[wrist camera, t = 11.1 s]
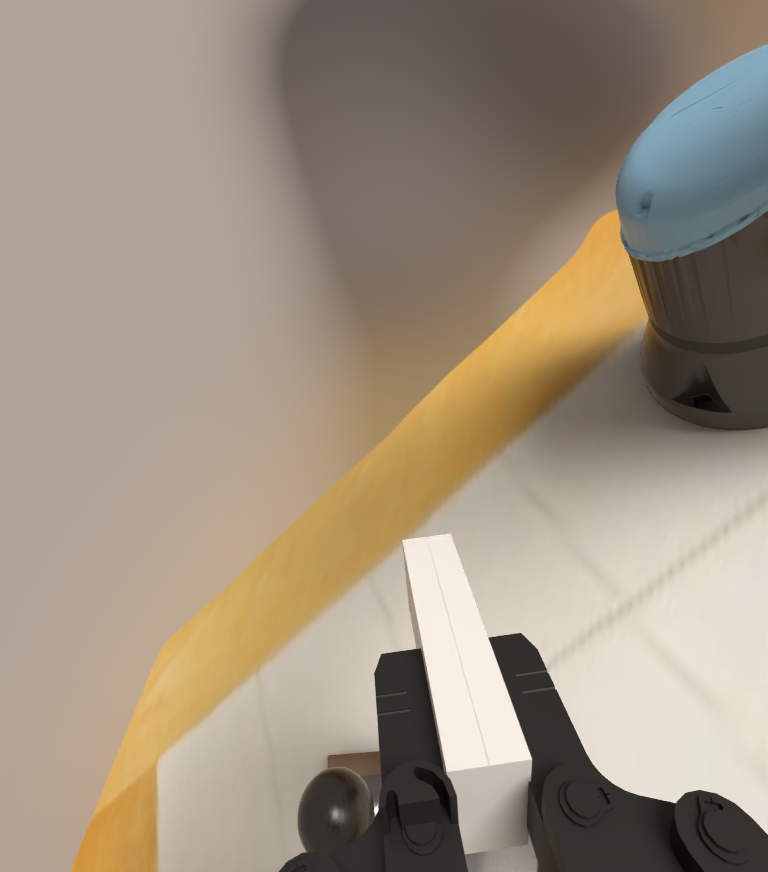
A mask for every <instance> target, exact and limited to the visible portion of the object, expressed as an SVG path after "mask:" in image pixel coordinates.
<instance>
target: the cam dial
mask: <svg viewBox="0 0 768 872" xmlns="http://www.w3.org/2000/svg"><path fill="white" fill-rule="evenodd" d="M381 788H382V777H381V775H370V776H360V775H359V774H357V773H356V772H354V771H353V770H351V769H348V768H345V767H332V768H329V769H326V770H324V771H322V772H321V773H319V774H318V775H317V776H315V777H314V778H313V779H312V781H311V782H310V783H309V784H308V786H307V788H306V789H305V791H304V793H303V795H302V798H301V801H300V805H299V809H298V831H299V835H300V839H301V842H302V844H303V846H304V848H305V850H306V851H307V852H319V853H321V854H324V855H326V856H330V855H331V854H333V853H334V852H336V851H338V850H339V849H341V848H343V847H344V846H346V845H348V844H349V843H351V842H353V841H354V840H356V839H357V838H358V837H359V836H361V835H362V834H363V833H364V832H365V831H366V830H367V829H368V827H369V826H370V825H371V824H372V822H373V820H374V818H375V816H376V814H377V812H378V810H379V809H378V807H379V797H380V790H381ZM465 858H466V863H467V868H468V872H537V863H538V861H537V858H536V855H535V851H534V848H533V845H532V842H531V839H530V835H529V832H528V845H522V846H516V847H510V848H503V849H497V850H490V851H484V852H478V853H471V854H465Z"/></svg>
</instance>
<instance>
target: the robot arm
mask: <svg viewBox="0 0 768 872" xmlns="http://www.w3.org/2000/svg"><path fill="white" fill-rule="evenodd" d="M616 204H617V209H618V214H619V219H620V223H621V230H620V234H621V241H622V243H623V245H624V246H625V249H626V251H627V252H628V254H629V257H630V260H631V263H632V266H633V270H634V273H635V276H636V279H637V282H638V285H639V289H640V292H641V295H642V298H643V301H644V304H645V308H646V311H647V313H648V317H649V319H648V323H647V327H646V331H645V335H644V339H643V343H642V348H641V368H642V372H643V375H644V378H645V380H646V383H647V386H648V388H649V390H650V392H651V394H652V395H653V397H654V398H655V399H656V400H657V401H658V403H659V404H661V405H662V406H663V407H664V408H665V409H666V410H668V411H669V412H671V413H672V414H674V415H676V416H678V417H680V418H682V419H684V420H686V421H689V422H692V423H695V424H698V425H702V426H707V427H712V428H719V429H754V428H762V427H767V426H768V44H767V45H765V46H762V47H760V48H757V49H755V50H753V51H751V52H748V53H746V54H744V55H742V56H740V57H738V58H736V59H734V60H733V61H731V62H729V63H727V64H725V65H723V66H722V67H720V68H719V69H717V70H715V71H714V72H712V73H710V74H709V75H707V76H706V77H704V78H703V79H701V80H700V81H698V82H697V83H695V84H694V85H693V86H691V87H690V88H689V89H687V90H686V91H685V92H684V93H682V94H681V95H680V96H679V97H677V98H676V99H675V100H674V101H673V102H672V103H670V104H669V105H668V106H667V107H666V108H665V109H664V110H663V111H662V112H661V113H659V114H658V115H657V117H656V118H655V120H654V122H653V123H652V124H651V125H650V126H649V127H648V128H647V129H646V130H645V131H644V132H642V134H641V135H640V136H639V137H638V139H637V140H636V141H635V143H634V144H633V146H632V147H631V149H630V151H629V152H628V154H627V156H626V158H625V160H624V162H623V164H622V167H621V169H620V172H619V175H618V179H617V184H616ZM402 542H403V552H404V561H405V571H406V580H407V590H408V600H409V608H410V614H411V620H412V626H413V631H414V637H415V643H416V648H417V649H413V650H406V651H399V652H392V653H385V654H381V657H380V659H379V662H378V665H377V668H376V671H375V673H374V675H375V689H376V704H377V716H378V733H379V748H380V762H381V777H382V788H381V790H380V797H379V807H378V809H379V810H378V812H377V814H376V816H375V818H374V820H373V822H372V824H371V825H370V826H369V827H368V829H367V830H366V831H365V832H364V833H363V834H362V835H361V836H359V837H358V838H357V839H356V840H354V841H353V842H351V843H349V844H348V845H346V846H344V847H343V848H341V849H339V850H338V851H336V852H334V853H333V854H331V855H330V856H326V855H324V854H321V853H319V852H307V853H301V854H300V855H298V856H296V857H294V858H293V859H291V860H289V861H288V862H287V863H286V864H285V865H284V866H283V867H282V869H281V870H280V871H279V872H468V868H467V863H466V858H465V854H471V853H478V852H484V851H490V850H497V849H503V848H510V847H516V846H522V845H528V832H529V835H530V839H531V842H532V845H533V848H534V851H535V855H536V858H537V861H538V863H537V872H768V835H767V834H766V833H765V831H764V830H763V829H762V828H761V827H760V826H759V825H758V824H757V823H756V822H755V821H754V820H753V819H752V818H751V817H750V816H749V815H748V814H747V813H745V812H744V811H743V810H742V809H741V808H740V807H739V806H737V805H736V804H735V803H733V802H731V801H729V800H728V799H726V798H724V797H722V796H720V795H718V794H716V793H711V792H706V791H702V790H697V791H693V792H688V793H685V794H684V795H683V796H682V797H681V798H680V799H679V800H678V801H677V803H672V802H667V801H662V800H658V799H653V798H649V797H644V796H639V795H636V794H633V793H630V792H627V791H625V790H623V789H621V788H619V787H618V786H616V785H614V784H612V783H611V782H610V781H609V780H608V779H606V778H605V777H604V776H603V775H602V774H601V773H600V772H599V771H598V770H597V769H596V768H595V766H594V765H593V764H592V762H591V761H590V759H589V757H588V755H587V754H586V752H585V750H584V747H583V745H582V743H581V741H580V739H579V737H578V735H577V733H576V730H575V728H574V726H573V724H572V722H571V720H570V718H569V716H568V713H567V711H566V709H565V707H564V705H563V703H562V701H561V699H560V696H559V694H558V692H557V690H555V686H554V684H553V682H552V679H551V677H550V675H549V673H547V669H546V667H545V665H544V662H543V660H542V658H541V656H540V654H539V652H538V650H537V648H536V647H535V646H534V645H533V644H532V643H531V642H530V641H529V640H528V639H527V638H526V637H525V636H524V635H522V634H521V633H518V634H510V635H503V636H496V637H489V638H488V636H487V633H486V630H485V627H484V624H483V622H482V619H481V616H480V613H479V611H478V608H477V605H476V602H475V599H474V597H473V594H472V591H471V588H470V586H469V583H468V580H467V577H466V575H465V572H464V569H463V566H462V563H461V561H460V558H459V555H458V552H457V550H456V547H455V544H454V541H453V538H452V536H451V533H450V534H443V535H436V536H428V537H421V538H413V539H406V540H402Z"/></svg>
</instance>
